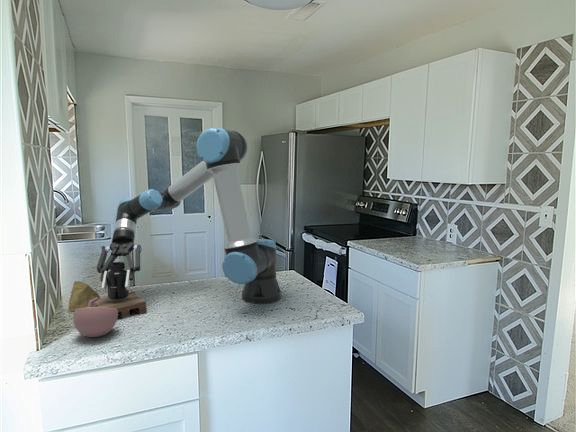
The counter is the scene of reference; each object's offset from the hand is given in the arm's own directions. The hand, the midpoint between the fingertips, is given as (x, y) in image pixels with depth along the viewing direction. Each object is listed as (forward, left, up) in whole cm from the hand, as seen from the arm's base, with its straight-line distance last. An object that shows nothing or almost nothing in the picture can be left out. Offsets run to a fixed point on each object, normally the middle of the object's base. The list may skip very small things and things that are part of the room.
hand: (115, 288), depth 130 cm
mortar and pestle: (-12, +9, -10) cm, 18 cm away
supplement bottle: (+3, -2, -4) cm, 6 cm away
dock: (+3, -2, -9) cm, 10 cm away
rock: (+16, +6, -10) cm, 19 cm away
